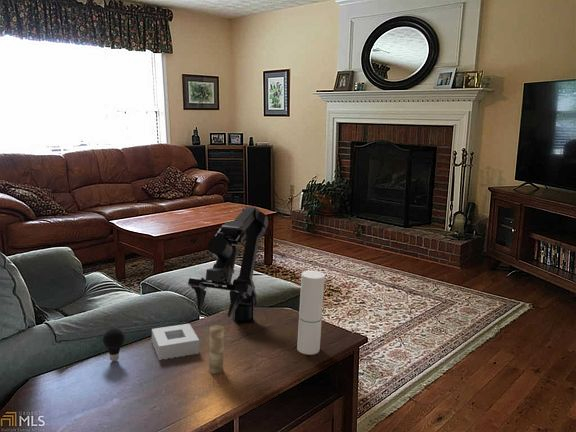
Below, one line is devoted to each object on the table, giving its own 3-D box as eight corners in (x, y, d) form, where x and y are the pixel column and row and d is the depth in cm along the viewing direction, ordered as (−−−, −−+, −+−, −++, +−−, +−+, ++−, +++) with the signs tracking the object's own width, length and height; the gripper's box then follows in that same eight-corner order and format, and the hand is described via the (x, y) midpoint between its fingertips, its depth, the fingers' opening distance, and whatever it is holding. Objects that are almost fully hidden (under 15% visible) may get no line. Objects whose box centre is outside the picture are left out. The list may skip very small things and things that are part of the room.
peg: (220, 365, 139) (221, 324, 136) (224, 372, 136) (225, 330, 133) (207, 368, 137) (207, 326, 135) (211, 375, 134) (211, 332, 131)
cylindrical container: (319, 344, 155) (325, 271, 149) (319, 355, 148) (324, 279, 142) (298, 342, 155) (302, 269, 150) (296, 353, 148) (300, 277, 143)
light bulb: (99, 362, 137) (97, 330, 135) (115, 354, 142) (114, 323, 140) (113, 368, 135) (112, 335, 133) (129, 359, 140) (128, 328, 138)
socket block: (189, 336, 156) (189, 323, 155) (199, 353, 145) (199, 339, 144) (151, 342, 151) (151, 329, 150) (159, 360, 140) (158, 346, 139)
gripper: (187, 252, 140) (174, 305, 135) (247, 260, 136) (236, 314, 131) (200, 263, 150) (188, 312, 145) (256, 270, 146) (246, 321, 141)
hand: (214, 314), depth 140 cm, fingers open, 9 cm apart
